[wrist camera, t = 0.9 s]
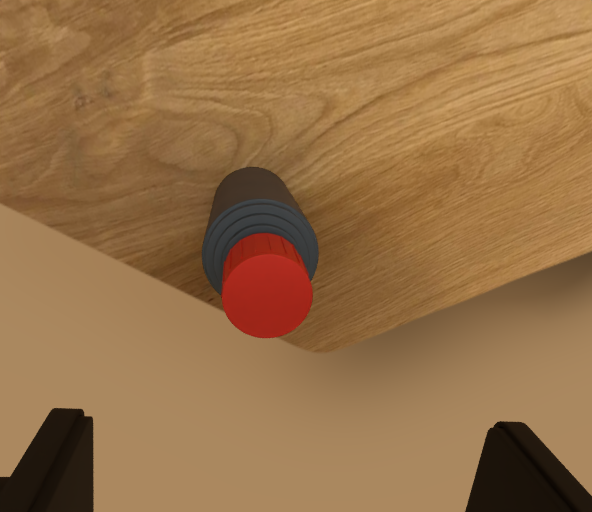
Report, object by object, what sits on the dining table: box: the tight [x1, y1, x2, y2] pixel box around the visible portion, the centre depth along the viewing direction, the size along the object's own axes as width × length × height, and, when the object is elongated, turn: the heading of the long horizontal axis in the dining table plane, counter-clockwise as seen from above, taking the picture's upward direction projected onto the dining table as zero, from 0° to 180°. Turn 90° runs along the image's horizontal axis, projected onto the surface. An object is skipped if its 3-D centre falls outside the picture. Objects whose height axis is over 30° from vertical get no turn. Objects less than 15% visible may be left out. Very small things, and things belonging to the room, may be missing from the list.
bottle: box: [202, 167, 319, 295], centre depth 30 cm, size 6×6×20 cm
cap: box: [221, 233, 313, 338], centre depth 22 cm, size 4×4×4 cm
